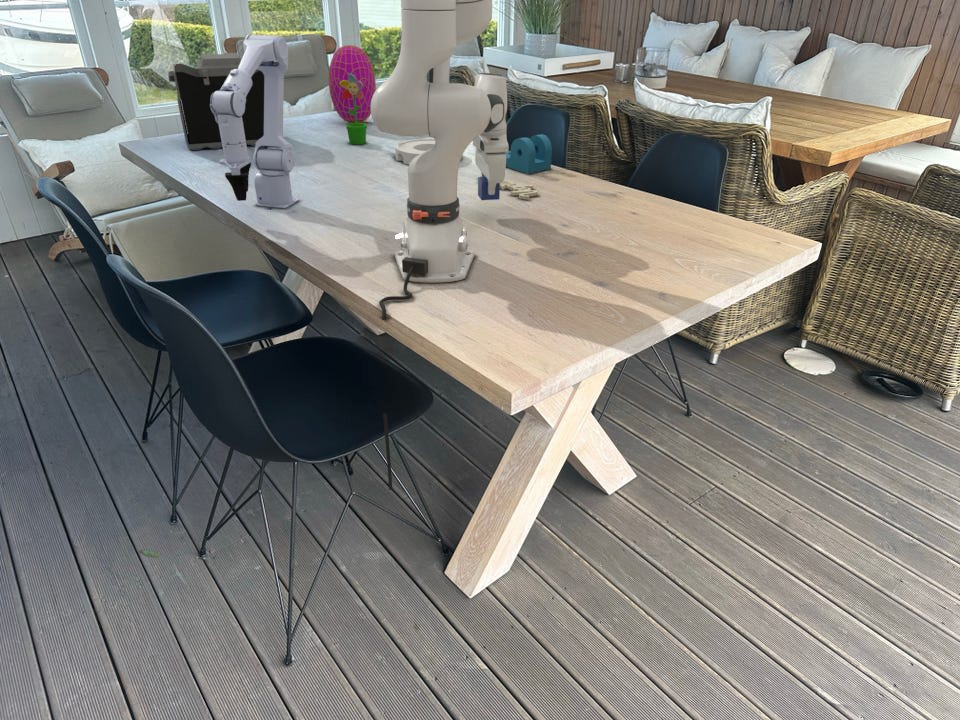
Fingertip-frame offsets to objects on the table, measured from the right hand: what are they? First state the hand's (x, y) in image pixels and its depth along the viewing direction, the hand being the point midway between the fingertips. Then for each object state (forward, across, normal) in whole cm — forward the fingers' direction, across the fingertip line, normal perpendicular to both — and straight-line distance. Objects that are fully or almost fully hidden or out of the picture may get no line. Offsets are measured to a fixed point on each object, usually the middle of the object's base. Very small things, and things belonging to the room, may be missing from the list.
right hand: (488, 190), depth 187 cm
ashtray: (+7, -65, -7) cm, 66 cm away
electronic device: (+7, -101, -77) cm, 127 cm away
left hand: (-1, -4, -64) cm, 65 cm away
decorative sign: (+7, -25, +12) cm, 29 cm away
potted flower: (+6, -91, -30) cm, 97 cm away
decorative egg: (+6, -128, -30) cm, 132 cm away
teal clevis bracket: (+7, -49, +23) cm, 54 cm away
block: (+2, 0, 0) cm, 2 cm away
